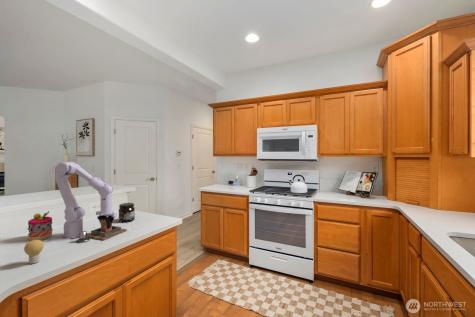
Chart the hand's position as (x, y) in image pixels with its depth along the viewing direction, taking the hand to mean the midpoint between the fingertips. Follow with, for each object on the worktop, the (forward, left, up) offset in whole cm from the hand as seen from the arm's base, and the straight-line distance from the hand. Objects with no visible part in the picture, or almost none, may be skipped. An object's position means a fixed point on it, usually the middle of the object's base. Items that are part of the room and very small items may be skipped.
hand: (106, 227), depth 131 cm
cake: (-30, -17, -4) cm, 35 cm away
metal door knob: (-3, -12, -4) cm, 13 cm away
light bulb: (0, -36, -4) cm, 36 cm away
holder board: (0, 0, -4) cm, 4 cm away
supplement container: (-9, +24, -4) cm, 26 cm away
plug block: (0, 0, -2) cm, 2 cm away
